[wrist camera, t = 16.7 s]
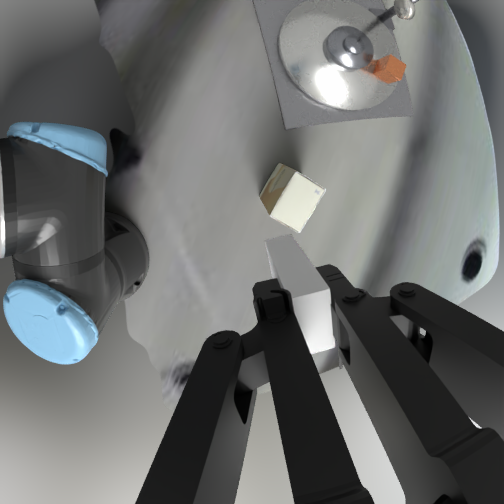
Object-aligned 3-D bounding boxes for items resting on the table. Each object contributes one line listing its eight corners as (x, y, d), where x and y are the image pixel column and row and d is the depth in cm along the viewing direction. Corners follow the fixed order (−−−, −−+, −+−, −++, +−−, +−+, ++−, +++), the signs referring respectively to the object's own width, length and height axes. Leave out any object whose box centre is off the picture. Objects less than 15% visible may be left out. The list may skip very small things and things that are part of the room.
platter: (374, 132, 41) (392, 132, 36) (257, 75, 37) (262, 65, 32) (408, 40, 35) (425, 33, 30) (304, -18, 31) (313, -33, 26)
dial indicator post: (375, 36, 36) (416, 12, 24) (366, 10, 34) (404, -19, 22) (394, 37, 36) (437, 16, 24) (385, 11, 34) (425, -14, 22)
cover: (357, 80, 37) (369, 74, 33) (316, 58, 35) (325, 50, 31) (370, 46, 35) (382, 39, 31) (330, 24, 33) (340, 15, 29)
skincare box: (278, 161, 43) (297, 167, 32) (302, 176, 44) (328, 187, 33) (257, 198, 45) (268, 216, 33) (281, 211, 46) (300, 234, 34)
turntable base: (285, 129, 41) (286, 129, 40) (252, 0, 33) (253, -3, 32) (410, 116, 42) (414, 115, 41) (379, 0, 33) (382, -2, 32)
